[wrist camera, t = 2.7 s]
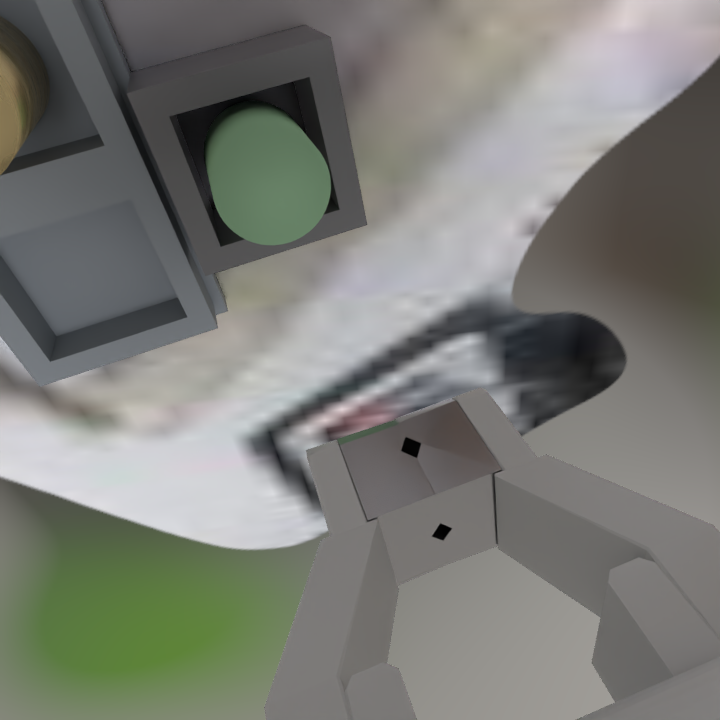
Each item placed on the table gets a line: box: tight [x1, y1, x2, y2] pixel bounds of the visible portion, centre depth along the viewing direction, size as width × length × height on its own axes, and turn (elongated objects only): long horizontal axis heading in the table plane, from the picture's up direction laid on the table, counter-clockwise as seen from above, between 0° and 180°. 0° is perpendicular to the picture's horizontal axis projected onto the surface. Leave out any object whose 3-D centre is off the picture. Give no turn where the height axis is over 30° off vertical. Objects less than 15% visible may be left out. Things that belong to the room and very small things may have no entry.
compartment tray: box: [0, 0, 228, 386], centre depth 21 cm, size 16×9×3 cm, turn 11°
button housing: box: [127, 25, 367, 276], centre depth 22 cm, size 7×7×4 cm
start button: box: [204, 101, 331, 245], centre depth 20 cm, size 4×4×4 cm
